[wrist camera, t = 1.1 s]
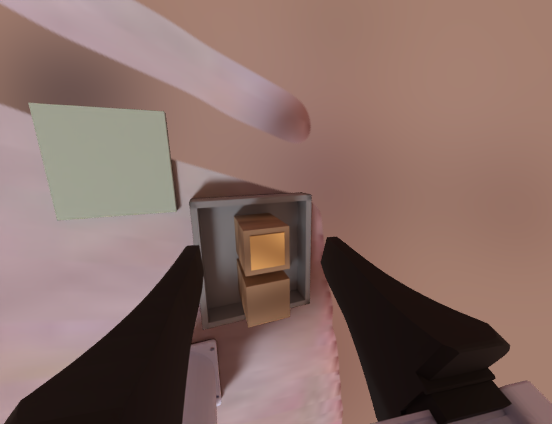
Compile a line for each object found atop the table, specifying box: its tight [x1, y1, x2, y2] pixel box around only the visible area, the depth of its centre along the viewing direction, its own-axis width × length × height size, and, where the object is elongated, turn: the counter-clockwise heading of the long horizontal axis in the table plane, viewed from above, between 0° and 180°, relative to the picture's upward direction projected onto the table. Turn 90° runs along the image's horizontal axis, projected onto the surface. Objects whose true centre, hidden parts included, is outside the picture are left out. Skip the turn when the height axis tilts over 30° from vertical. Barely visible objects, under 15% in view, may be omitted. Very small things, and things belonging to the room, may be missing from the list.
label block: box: [234, 213, 290, 276], centre depth 20 cm, size 4×4×6 cm
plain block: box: [237, 259, 290, 328], centre depth 21 cm, size 4×4×6 cm
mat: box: [29, 103, 177, 221], centre depth 18 cm, size 9×9×1 cm
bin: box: [189, 192, 312, 330], centre depth 22 cm, size 13×12×2 cm
